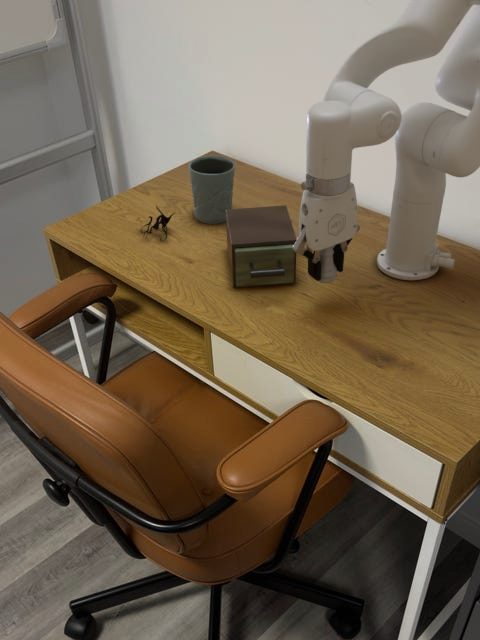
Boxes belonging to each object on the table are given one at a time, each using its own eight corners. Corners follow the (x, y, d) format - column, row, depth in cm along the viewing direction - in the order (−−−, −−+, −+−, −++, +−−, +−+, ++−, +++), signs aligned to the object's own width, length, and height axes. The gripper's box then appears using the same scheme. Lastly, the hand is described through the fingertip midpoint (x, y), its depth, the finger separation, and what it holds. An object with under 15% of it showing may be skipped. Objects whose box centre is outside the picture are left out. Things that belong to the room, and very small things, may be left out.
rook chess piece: (336, 284, 131) (338, 246, 125) (312, 283, 132) (313, 245, 126) (338, 271, 134) (340, 233, 129) (315, 270, 135) (315, 232, 129)
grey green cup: (186, 211, 166) (181, 160, 157) (225, 201, 169) (223, 151, 160) (203, 229, 159) (199, 177, 151) (243, 219, 162) (242, 168, 154)
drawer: (296, 294, 137) (298, 259, 131) (238, 299, 136) (237, 263, 131) (284, 248, 150) (284, 214, 144) (230, 252, 149) (229, 218, 144)
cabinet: (295, 283, 142) (296, 239, 135) (233, 287, 141) (231, 244, 134) (285, 247, 152) (286, 205, 146) (227, 251, 152) (225, 209, 145)
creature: (158, 249, 155) (183, 229, 158) (152, 230, 151) (177, 209, 154) (134, 238, 159) (158, 218, 162) (127, 219, 154) (152, 199, 157)
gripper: (299, 203, 114) (299, 297, 127) (381, 174, 120) (373, 267, 133) (274, 186, 119) (277, 278, 132) (354, 159, 125) (349, 250, 137)
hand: (325, 272), depth 132 cm, fingers closed on rook chess piece, 4 cm apart
